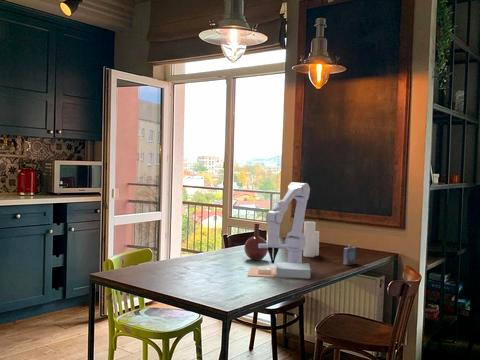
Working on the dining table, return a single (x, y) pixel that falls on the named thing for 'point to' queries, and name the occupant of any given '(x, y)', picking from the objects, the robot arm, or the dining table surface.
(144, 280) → the dining table surface
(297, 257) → the robot arm
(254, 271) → the mat
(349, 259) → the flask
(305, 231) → the white tall block
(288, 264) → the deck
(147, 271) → the dining table surface
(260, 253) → the round-bottom flask
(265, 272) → the tile
